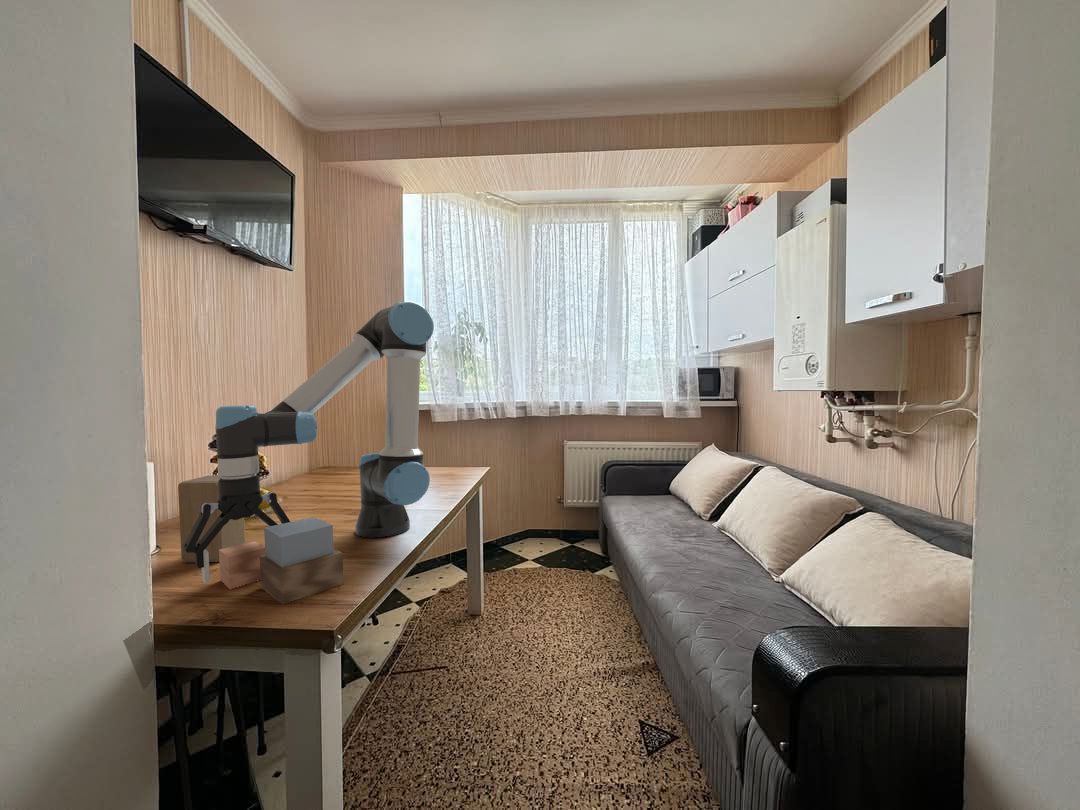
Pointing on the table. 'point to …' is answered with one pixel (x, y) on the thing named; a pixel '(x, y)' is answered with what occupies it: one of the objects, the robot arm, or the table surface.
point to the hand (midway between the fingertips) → (243, 571)
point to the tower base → (301, 577)
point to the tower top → (298, 541)
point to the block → (189, 511)
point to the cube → (240, 564)
